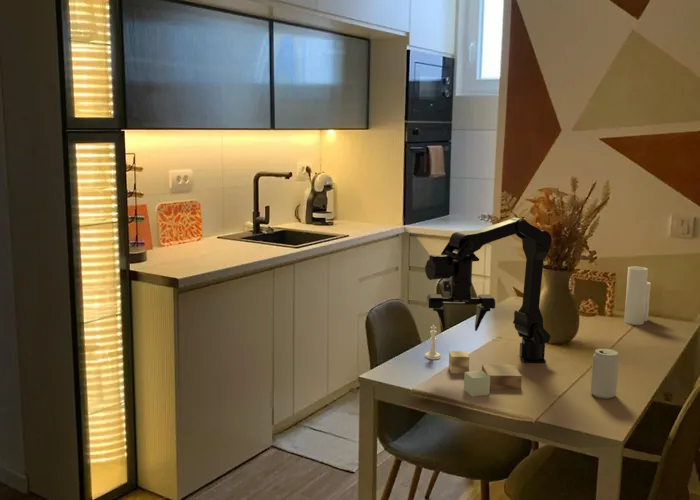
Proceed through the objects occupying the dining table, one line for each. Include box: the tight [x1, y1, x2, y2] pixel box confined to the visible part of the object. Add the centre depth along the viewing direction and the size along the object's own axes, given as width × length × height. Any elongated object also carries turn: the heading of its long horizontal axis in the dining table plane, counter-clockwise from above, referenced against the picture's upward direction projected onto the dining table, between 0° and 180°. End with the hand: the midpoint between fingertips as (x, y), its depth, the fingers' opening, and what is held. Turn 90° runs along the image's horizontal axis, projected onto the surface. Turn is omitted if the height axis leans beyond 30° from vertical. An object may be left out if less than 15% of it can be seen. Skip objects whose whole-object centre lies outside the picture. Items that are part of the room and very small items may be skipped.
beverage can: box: [590, 348, 620, 400], centre depth 188 cm, size 6×6×12 cm
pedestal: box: [481, 364, 523, 390], centre depth 197 cm, size 9×9×4 cm
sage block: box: [463, 369, 490, 397], centre depth 190 cm, size 5×5×5 cm
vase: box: [623, 265, 652, 326], centre depth 259 cm, size 11×7×20 cm, turn 144°
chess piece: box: [424, 324, 442, 360], centre depth 218 cm, size 5×5×10 cm
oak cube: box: [448, 350, 470, 374], centre depth 207 cm, size 5×5×5 cm
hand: (459, 330), depth 205 cm, fingers open, 9 cm apart
